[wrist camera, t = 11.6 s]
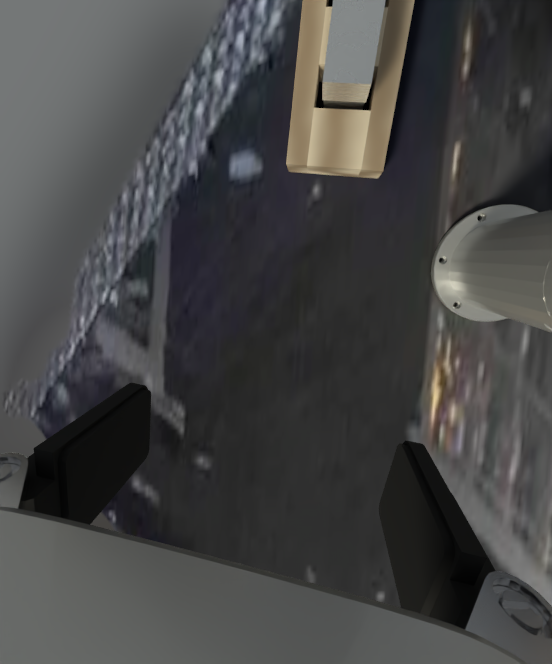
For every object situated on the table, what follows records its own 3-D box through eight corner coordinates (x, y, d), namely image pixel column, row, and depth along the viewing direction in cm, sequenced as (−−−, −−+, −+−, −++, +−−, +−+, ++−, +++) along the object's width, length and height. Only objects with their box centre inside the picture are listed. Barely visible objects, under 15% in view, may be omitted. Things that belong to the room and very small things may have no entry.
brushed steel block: (382, -17, 28) (405, -119, 20) (359, 125, 31) (371, 84, 24) (340, -18, 28) (348, -117, 21) (322, 123, 32) (322, 81, 24)
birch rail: (425, -88, 26) (438, -130, 23) (377, 178, 32) (383, 171, 29) (315, -85, 27) (315, -125, 25) (289, 171, 33) (286, 164, 31)
